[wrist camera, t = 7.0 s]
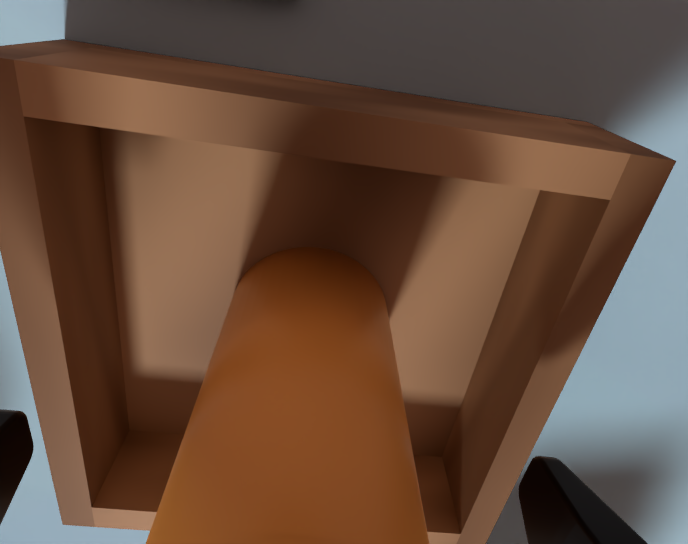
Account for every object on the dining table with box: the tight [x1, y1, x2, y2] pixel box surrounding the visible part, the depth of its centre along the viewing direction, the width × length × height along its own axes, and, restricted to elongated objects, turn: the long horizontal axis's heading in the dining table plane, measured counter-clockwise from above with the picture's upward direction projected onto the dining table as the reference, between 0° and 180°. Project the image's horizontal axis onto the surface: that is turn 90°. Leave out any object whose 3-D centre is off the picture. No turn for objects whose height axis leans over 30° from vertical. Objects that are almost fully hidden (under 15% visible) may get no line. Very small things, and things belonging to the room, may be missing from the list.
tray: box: [0, 39, 676, 544], centre depth 11 cm, size 11×11×3 cm
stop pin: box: [146, 247, 429, 544], centre depth 9 cm, size 4×4×7 cm
